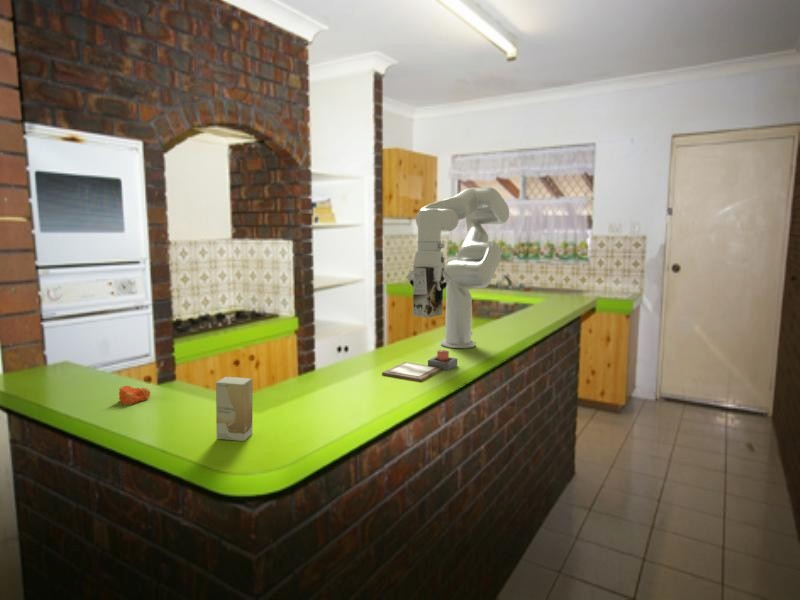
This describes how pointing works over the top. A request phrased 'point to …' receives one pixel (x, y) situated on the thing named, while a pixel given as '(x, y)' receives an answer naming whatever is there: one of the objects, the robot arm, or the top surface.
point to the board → (412, 371)
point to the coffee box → (425, 293)
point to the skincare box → (234, 408)
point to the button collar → (443, 363)
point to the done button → (443, 355)
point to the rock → (133, 395)
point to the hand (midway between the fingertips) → (428, 300)
